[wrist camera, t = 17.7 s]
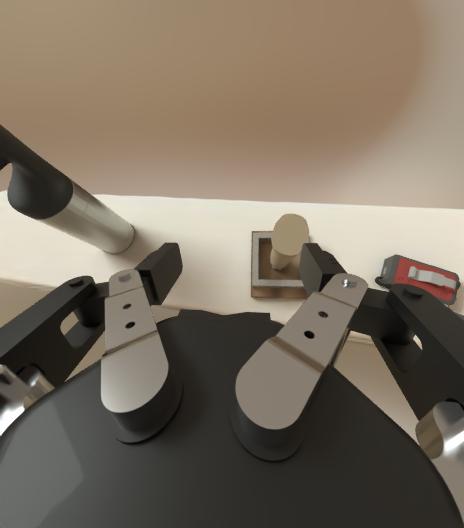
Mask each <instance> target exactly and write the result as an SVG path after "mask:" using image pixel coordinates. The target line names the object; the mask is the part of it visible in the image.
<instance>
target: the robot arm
mask: <svg viewBox="0 0 464 528" xmlns="http://www.w3.org/2000/svg"><path fill="white" fill-rule="evenodd" d="M9 163H12V167H13V171H12V177H11V181H10V184H9V187H8V193H7V194H8V201H9V203H10V205H11V206H12V207H13V208H14V209H15V210H17V211H18V212H20V213H22V214H24V215H26V216H28V217H31V218H33V219H35V220H37V221H40V222H42V223H44V224H46V225H49V226H51V227H53V228H55V229H58V230H60V231H62V232H64V233H67V234H69V235H71V236H73V237H75V238H78V239H80V240H82V241H84V242H87V243H89V244H91V245H93V246H95V247H97V248H100V249H102V250H104V251H106V252H109V253H120V252H122V251H124V250H126V249H127V248H128V247H129V246H130V244H131V243H132V241H133V238H134V229H133V227H132V226H131V225H130V224H129V223H128V222H127V221H125V220H124V219H123V218H121V217H120V216H119V215H118V214H116V213H115V212H114V211H112V210H111V209H110V208H108V207H107V206H106V205H104V204H103V203H102V202H100V201H99V200H98V199H96V198H95V197H94V196H92V195H91V194H90V193H88V192H87V191H86V190H84V189H83V188H82V187H80V186H79V185H78V184H76V183H75V182H74V181H72V180H71V179H70V178H68V177H67V176H66V175H64V174H63V173H62V172H60V171H59V170H57V169H56V168H55V167H53V166H52V165H51V164H49V163H48V162H46V161H45V160H44V159H42V158H41V157H40V156H39V155H37V154H36V153H35V152H33V151H32V150H31V149H30V148H28V147H27V146H26V145H24V144H23V143H22V142H21V141H20V140H19V139H17V138H16V137H15V136H14V135H12V134H11V133H10V132H9V131H8V130H6V129H5V128H4V127H3V126H1V125H0V170H1V169H3V168H4V167H5V166H6V165H7V164H9ZM181 272H182V260H181V255H180V250H179V245H178V244H177V243H164V244H163V245H162V246H161V247H160V248H159V249H158V250H156V251H154V252H152V253H151V254H150V255H148V256H147V258H145V259H144V260H143V261H142V262H141V263H140V264H139V265H138V266H137V267H136V268H135V269H130V270H124V271H120V272H118V273H116V274H114V275H113V276H111V277H110V279H109V282H104V283H98V284H95V282H94V279H93V277H91V276H81V277H76V278H73V279H71V280H69V281H67V282H65V283H63V284H62V285H60V286H59V287H58V288H56V289H55V290H53V291H52V292H51V293H49V294H48V295H46V296H45V297H44V298H42V299H41V300H39V301H38V302H36V303H35V304H34V305H32V306H31V307H29V308H28V309H27V310H25V311H24V312H22V313H21V314H19V315H18V316H17V317H15V318H14V319H12V320H11V321H10V322H8V323H7V324H5V325H4V326H3V327H1V328H0V528H464V321H463V320H462V319H461V318H460V317H459V316H457V315H456V314H455V313H454V312H453V311H451V310H450V309H449V308H448V307H447V306H445V305H444V304H443V303H442V302H441V301H439V300H438V299H437V298H436V297H435V296H433V295H432V294H431V293H429V292H428V291H426V290H424V289H422V288H420V287H417V286H413V285H409V284H402V283H398V284H394V285H392V286H391V288H390V290H389V292H386V291H381V290H376V289H371V288H368V284H367V282H366V281H365V280H364V279H362V278H360V277H358V276H355V275H352V274H347V272H346V271H345V270H344V269H343V267H342V266H341V265H340V264H339V262H338V261H337V260H336V259H335V257H334V256H333V255H332V254H330V253H328V252H327V251H322V249H321V248H320V247H319V245H318V244H317V243H304V244H303V246H302V251H301V257H300V264H299V274H300V277H301V280H302V283H303V285H304V288H305V290H306V293H307V295H308V299H307V300H306V301H305V302H304V304H303V305H302V306H301V307H300V308H299V309H298V311H297V312H296V313H295V314H294V315H293V316H292V318H291V319H290V320H289V321H288V322H287V323H286V325H283V324H281V323H279V322H276V321H272V320H271V319H270V313H257V312H244V313H238V314H231V315H219V314H215V313H211V312H207V311H203V310H185V309H181V310H180V312H179V314H178V316H175V317H171V318H168V319H165V320H162V321H160V322H158V323H156V322H155V320H154V316H153V313H152V310H151V305H161V304H162V302H163V301H164V299H165V298H166V296H167V295H168V293H169V291H170V290H171V288H172V287H173V285H174V283H175V282H176V280H177V279H178V277H179V275H180V274H181ZM72 311H73V312H74V314H75V315H76V317H77V318H78V320H79V321H78V322H77V323H76V324H75V325H74V326H73V327H72V328H71V329H70V330H69V331H68V332H67V333H66V334H65V335H63V333H62V332H61V330H60V325H61V323H62V321H63V320H64V319H65V318H66V317H67V316H68V315H69V314H70V313H71V312H72ZM104 331H105V354H103V356H102V358H101V359H100V360H98V361H97V362H95V363H93V364H92V365H90V366H89V367H87V368H86V369H84V370H83V371H81V372H79V373H78V374H76V375H75V376H73V377H72V378H70V379H68V380H67V381H66V382H65V380H66V379H67V378H68V377H69V375H70V374H71V373H72V371H73V370H74V369H75V368H76V366H77V365H78V364H79V362H80V361H81V360H82V359H83V357H84V356H85V355H86V354H87V352H88V351H89V350H90V349H91V347H92V346H93V345H94V344H95V342H96V341H97V339H98V338H99V337H100V336H101V335H102V333H103V332H104ZM351 331H355V332H358V333H362V334H366V335H369V336H371V338H372V340H373V342H374V344H375V345H376V347H377V349H378V351H379V352H380V354H381V356H382V357H383V359H384V361H385V363H386V365H387V366H388V368H389V370H390V372H391V373H392V375H393V377H394V378H395V380H396V382H397V384H398V386H399V387H400V389H401V391H402V393H403V394H404V396H405V398H406V400H407V401H408V403H409V405H410V406H411V408H412V410H413V412H414V413H415V415H416V417H417V419H418V420H419V422H418V424H417V425H416V430H415V431H416V437H417V440H418V442H419V445H420V446H419V445H418V444H417V443H416V442H415V441H414V440H413V439H412V438H411V437H410V436H409V435H408V434H407V433H406V432H405V431H404V430H403V429H402V428H401V427H400V426H399V425H398V424H396V423H395V422H394V421H393V420H392V419H391V418H390V417H389V416H388V415H386V414H385V413H384V412H383V411H382V410H381V409H380V408H379V407H378V406H377V405H375V404H374V403H373V402H372V401H371V400H370V399H369V398H368V397H367V396H365V395H364V394H363V393H362V392H361V391H360V390H359V389H358V388H357V387H356V386H354V385H353V384H352V383H351V382H350V381H349V380H348V379H347V378H346V377H344V376H343V375H342V374H341V373H340V372H339V371H338V370H337V369H335V368H334V367H335V364H336V362H337V360H338V357H339V355H340V353H341V351H342V349H343V347H344V344H345V343H346V340H347V338H348V336H349V334H350V332H351ZM415 334H416V336H417V337H418V338H419V339H420V341H421V344H422V350H421V349H420V347H419V346H418V345H417V344H416V342H415V341H414V340H413V337H414V336H415Z"/></svg>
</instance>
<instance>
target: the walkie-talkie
mask: <svg viewBox="0 0 464 528" xmlns="http://www.w3.org/2000/svg"><path fill="white" fill-rule="evenodd" d="M379 279H380V280H379ZM375 282H376V283H377V284H379V285H381V286H384V287H387V288H391V286H392V285H394V284H398V283H402V284H409V285H413V286H417V287H420V288H422V289H424V290H426V291H428V292H429V293H431V294H432V295H433V296H435V297H436V298H437V299H438V300H439V301H441V302H442V303H443V304H444V305H445V306H447V307H448V305H452V304H454V302H455V301H456V294H457V289H458V288H459V287H460V282H459V277H458V275H457V274H456V273H453V272H450V271H447V270H444V269H441V268H438V267H434V266H431V265H428V264H425V263H421V262H418V261H415V260H412V259H409V258H406V257H403V256H400V255H394V256H391V257H389V258H387V259H385V261H384V265H383V268H382V272H381V276H380V277H376V279H375ZM454 313H455V312H454ZM455 314H456V315H457V316H459V317H460V318H461V319H462V320H463V321H464V316H463V315H460V314H458V313H455Z"/></svg>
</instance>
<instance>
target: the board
mask: <svg viewBox="0 0 464 528" xmlns="http://www.w3.org/2000/svg"><path fill="white" fill-rule="evenodd" d="M271 232H273V231H252V255H251V297H270V298H303V299H308V295H307V293H306V290H305V289H285V288H252V265H253V233H271ZM272 249H273V247H272V243H259V249H258V279H259V280H301V277H300V274H299V264H300V253H299V254H298V255H297V256H296V257H292V259H291V261H290V262H289V263H288V265H287V266H286V267H284V268H282V269H281V270H277V269H273V268H272V265H271V262H270V256H271V252H272Z"/></svg>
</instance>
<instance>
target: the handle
mask: <svg viewBox="0 0 464 528" xmlns="http://www.w3.org/2000/svg"><path fill="white" fill-rule="evenodd" d="M308 235H309V229H308V225H307V222H306V220H305V219H304V218H303V217H301V216H299V215H296V214H285V215H283V216H282V217H281V218H280V219H279V220H278V221H277V223H276V224H275V226H274V230H273V233H272V237H271V241H272V247H273V249H272V252H271V256H270V262H271V265H272V268H273V269H277V270H281V269H282V268H284V267H286V266H287V265H288V263H289V262H290V261H291V259H292V257H296V256H297V255H298V254H299V253H300V252H301V250H302V246H303V244H304V243H307V239H308Z"/></svg>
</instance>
